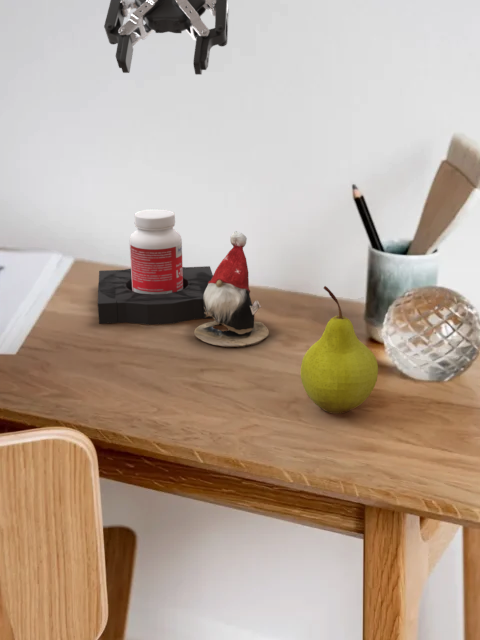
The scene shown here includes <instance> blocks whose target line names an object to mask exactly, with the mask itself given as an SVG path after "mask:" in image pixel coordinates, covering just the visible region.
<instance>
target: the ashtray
mask: <svg viewBox="0 0 480 640" xmlns="http://www.w3.org/2000/svg"><path fill="white" fill-rule="evenodd" d="M182 267H183V289H182V290H180V291H178V292H173V293H167V294H142V293H137V292H134V291H132V278H131V268H126V269H109V270H107V269H106V270H99V271H98V283H97V292H98V293H97V314H98V324H99V325H103V324H105V325H106V324H107V325H108V324H123V323H125V324H126V323H127V324H138V325H147V326H149V325H150V326H153V325H154V326H155V325H174V324H179V323H184V322H189V321H191V320H192V321H193V320H208V319H209V320H212V319H214V318H213V317H211V316H208V317H205V315H204V299H203V297H204V292H205V290H206V288H207V286H208V282H209V281H211V279H212V277H213V275H214V273H213V271H212V269H211V268H212V267H211V266H210V265H207V266H182Z"/></svg>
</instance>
